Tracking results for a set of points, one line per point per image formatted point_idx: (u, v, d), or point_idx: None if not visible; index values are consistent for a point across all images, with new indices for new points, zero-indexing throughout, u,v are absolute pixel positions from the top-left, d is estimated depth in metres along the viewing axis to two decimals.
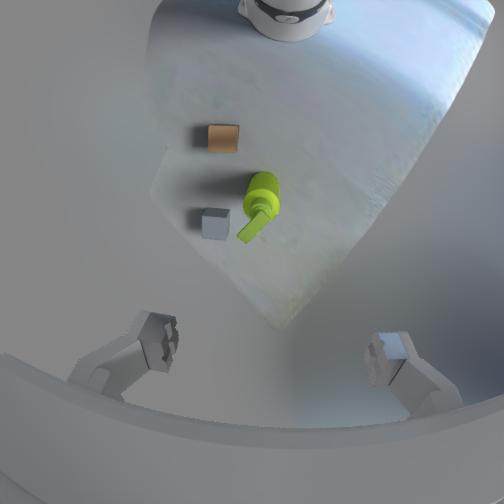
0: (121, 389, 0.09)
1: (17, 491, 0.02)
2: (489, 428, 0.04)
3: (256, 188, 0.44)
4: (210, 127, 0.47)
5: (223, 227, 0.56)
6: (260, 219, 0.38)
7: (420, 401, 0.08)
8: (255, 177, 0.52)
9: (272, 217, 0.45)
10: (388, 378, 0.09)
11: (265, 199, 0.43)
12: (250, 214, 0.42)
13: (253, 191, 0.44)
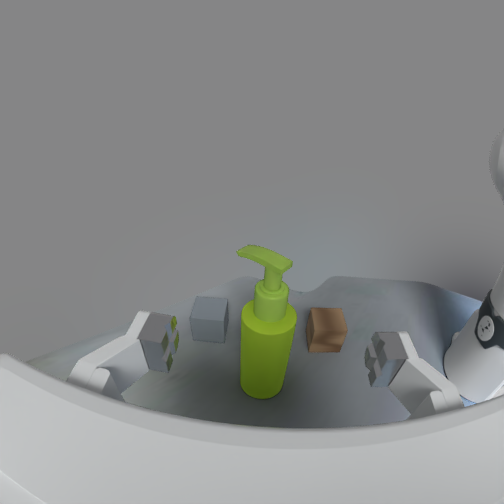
0: (121, 389, 0.09)
1: (17, 491, 0.02)
2: (489, 428, 0.04)
3: None
4: (339, 309, 0.42)
5: (210, 316, 0.40)
6: (279, 260, 0.25)
7: (420, 401, 0.08)
8: None
9: (252, 325, 0.27)
10: (388, 378, 0.09)
11: (285, 309, 0.28)
12: None
13: (290, 306, 0.30)
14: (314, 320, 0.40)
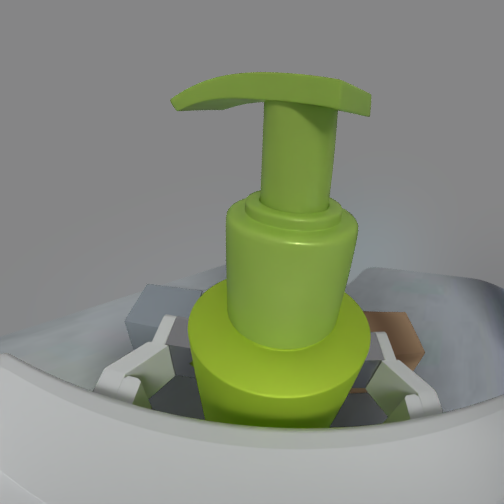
0: (147, 396, 0.09)
1: (17, 491, 0.02)
2: (489, 428, 0.04)
3: None
4: (403, 315, 0.21)
5: None
6: None
7: (397, 404, 0.08)
8: None
9: (216, 360, 0.07)
10: (364, 379, 0.09)
11: (341, 301, 0.07)
12: None
13: (344, 294, 0.10)
14: None
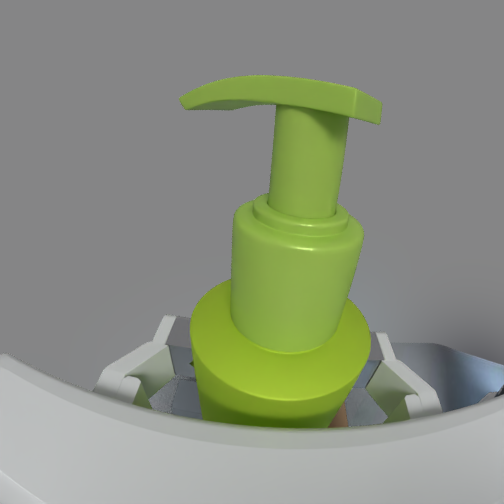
0: (147, 396, 0.09)
1: (17, 491, 0.02)
2: (489, 428, 0.04)
3: None
4: None
5: (194, 408, 0.31)
6: None
7: (397, 404, 0.08)
8: None
9: (219, 361, 0.07)
10: (364, 379, 0.09)
11: (344, 306, 0.07)
12: None
13: None
14: None
